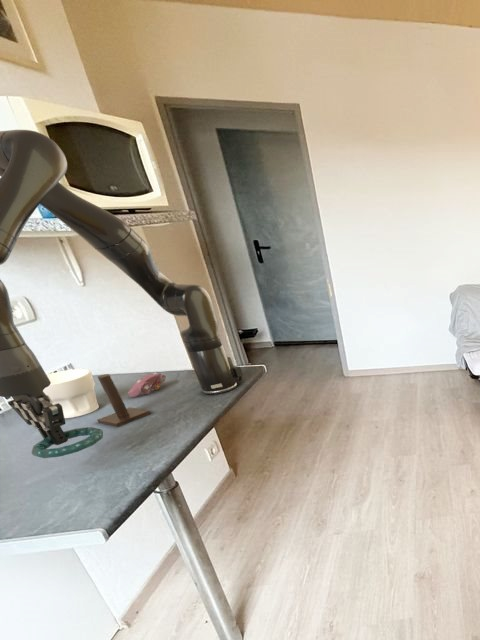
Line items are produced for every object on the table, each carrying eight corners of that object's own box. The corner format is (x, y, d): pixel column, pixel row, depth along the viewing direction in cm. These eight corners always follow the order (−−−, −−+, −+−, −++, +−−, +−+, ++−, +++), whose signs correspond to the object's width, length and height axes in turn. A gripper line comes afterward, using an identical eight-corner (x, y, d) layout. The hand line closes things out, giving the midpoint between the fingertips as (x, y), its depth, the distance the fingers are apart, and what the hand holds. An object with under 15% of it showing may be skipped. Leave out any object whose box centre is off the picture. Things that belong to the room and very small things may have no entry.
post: (131, 410, 121) (111, 369, 115) (150, 413, 119) (130, 371, 113) (98, 422, 114) (75, 379, 109) (117, 426, 112) (95, 383, 106)
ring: (84, 429, 95) (81, 423, 94) (116, 436, 92) (112, 429, 91) (22, 454, 86) (17, 447, 85) (55, 463, 83) (50, 455, 82)
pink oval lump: (141, 402, 129) (143, 384, 126) (126, 396, 128) (127, 378, 126) (167, 389, 138) (169, 372, 135) (153, 384, 137) (154, 366, 135)
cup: (94, 417, 117) (75, 381, 113) (37, 425, 113) (14, 388, 109) (116, 399, 128) (99, 366, 123) (64, 406, 124) (45, 372, 119)
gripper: (58, 365, 84) (99, 438, 92) (17, 359, 88) (59, 429, 95) (7, 379, 78) (55, 456, 85) (-35, 372, 81) (15, 446, 89)
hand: (57, 441), depth 90 cm, fingers closed on ring, 2 cm apart
